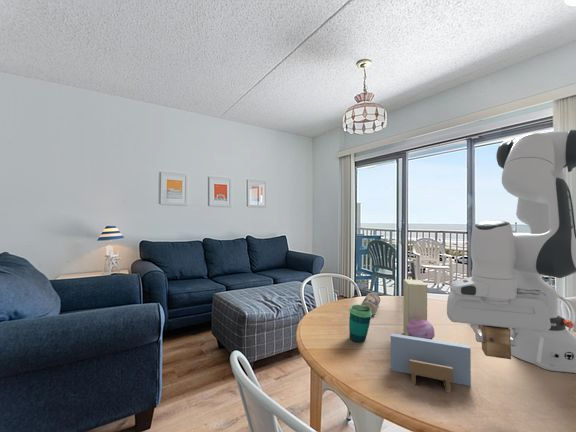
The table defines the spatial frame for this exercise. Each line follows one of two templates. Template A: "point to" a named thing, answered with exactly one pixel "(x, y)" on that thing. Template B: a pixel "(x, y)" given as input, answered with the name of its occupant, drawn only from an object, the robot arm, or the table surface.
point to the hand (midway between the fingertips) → (495, 343)
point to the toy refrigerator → (414, 302)
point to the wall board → (431, 359)
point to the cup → (359, 322)
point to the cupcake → (420, 329)
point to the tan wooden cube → (496, 341)
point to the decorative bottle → (371, 301)
